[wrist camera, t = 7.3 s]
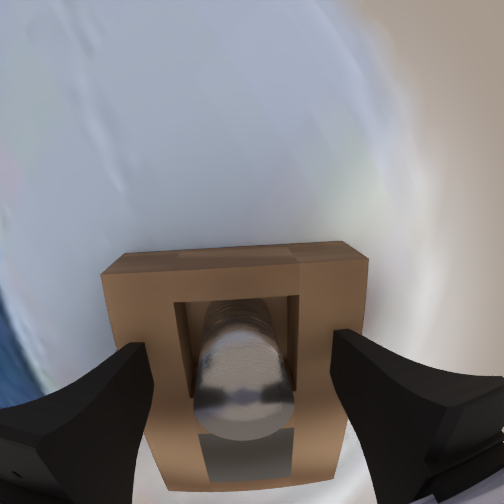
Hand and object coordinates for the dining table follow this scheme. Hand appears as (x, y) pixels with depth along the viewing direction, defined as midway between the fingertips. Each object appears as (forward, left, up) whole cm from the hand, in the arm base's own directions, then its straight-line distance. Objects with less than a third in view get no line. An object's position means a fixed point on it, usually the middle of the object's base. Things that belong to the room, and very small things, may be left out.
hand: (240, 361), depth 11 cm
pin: (0, 0, -3) cm, 3 cm away
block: (-4, 0, -4) cm, 5 cm away
